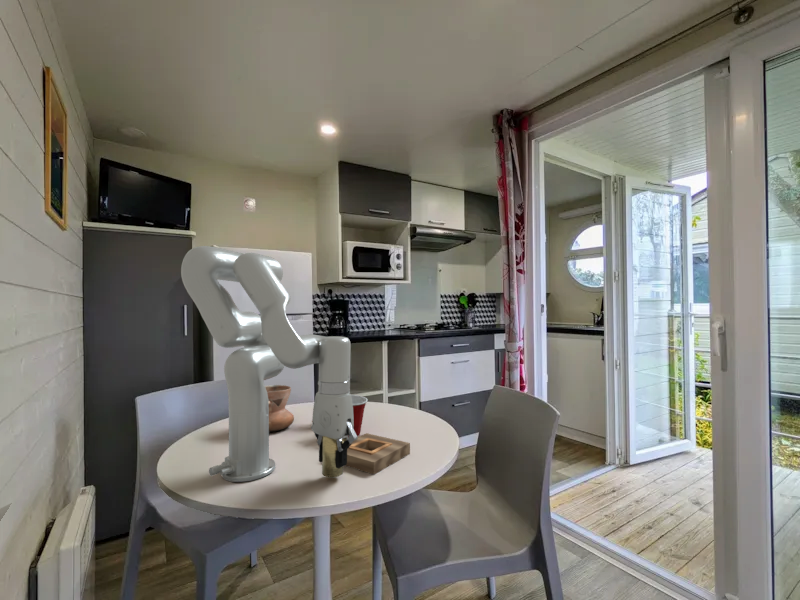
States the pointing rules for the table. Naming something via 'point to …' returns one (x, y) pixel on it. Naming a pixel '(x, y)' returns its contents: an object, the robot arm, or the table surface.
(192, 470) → the table surface
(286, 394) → the ceramic jug
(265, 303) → the robot arm
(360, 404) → the plastic cup
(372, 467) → the walnut plate
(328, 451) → the brass peg
